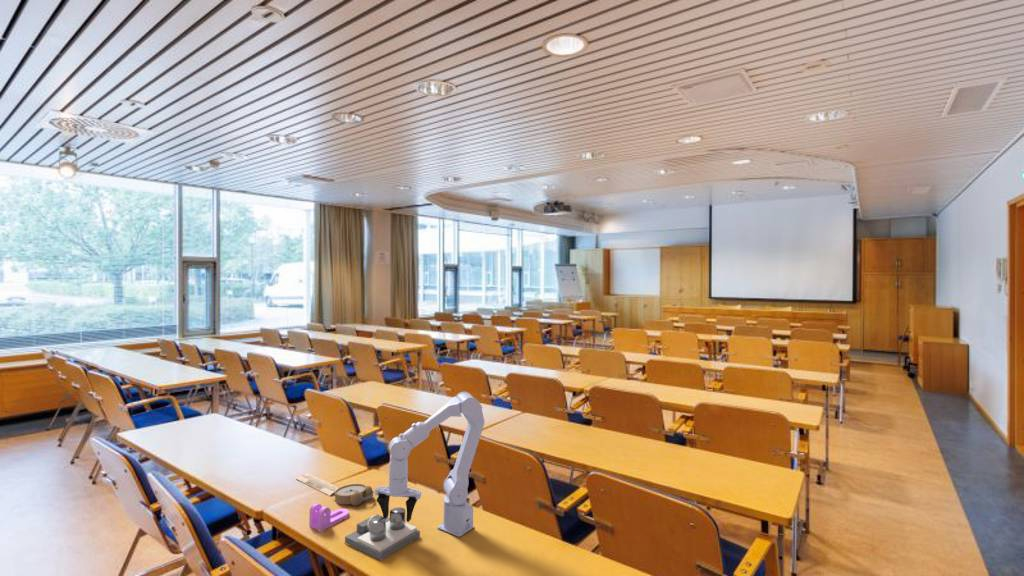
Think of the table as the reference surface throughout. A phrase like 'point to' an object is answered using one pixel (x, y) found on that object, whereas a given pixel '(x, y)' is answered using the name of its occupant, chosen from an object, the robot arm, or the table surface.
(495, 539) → the table surface
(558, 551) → the table surface
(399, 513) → the cylinder
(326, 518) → the bracket
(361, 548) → the scale
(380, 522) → the cylinder
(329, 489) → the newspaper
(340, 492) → the alarm clock
